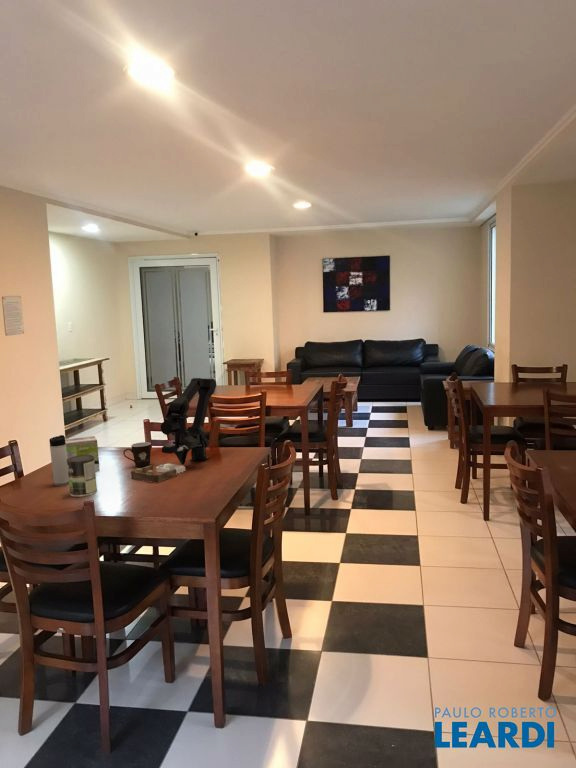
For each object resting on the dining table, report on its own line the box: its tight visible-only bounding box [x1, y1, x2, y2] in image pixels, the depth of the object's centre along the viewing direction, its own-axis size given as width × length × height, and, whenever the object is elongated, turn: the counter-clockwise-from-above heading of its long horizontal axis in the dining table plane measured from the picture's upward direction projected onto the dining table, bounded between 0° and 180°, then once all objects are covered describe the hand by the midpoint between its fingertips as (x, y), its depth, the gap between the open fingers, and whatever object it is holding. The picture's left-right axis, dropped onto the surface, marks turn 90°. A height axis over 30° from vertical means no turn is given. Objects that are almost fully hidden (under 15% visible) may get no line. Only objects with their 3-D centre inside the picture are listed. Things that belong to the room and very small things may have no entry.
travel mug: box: [49, 434, 69, 487], centre depth 256 cm, size 6×7×20 cm
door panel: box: [155, 462, 186, 475], centre depth 267 cm, size 7×11×4 cm, turn 53°
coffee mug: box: [122, 441, 152, 469], centre depth 279 cm, size 12×9×10 cm
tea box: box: [65, 435, 100, 473], centre depth 274 cm, size 15×10×15 cm
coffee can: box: [67, 455, 98, 498], centre depth 242 cm, size 10×10×14 cm
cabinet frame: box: [130, 464, 178, 483], centre depth 259 cm, size 11×15×4 cm
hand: (182, 464), depth 273 cm, fingers closed
